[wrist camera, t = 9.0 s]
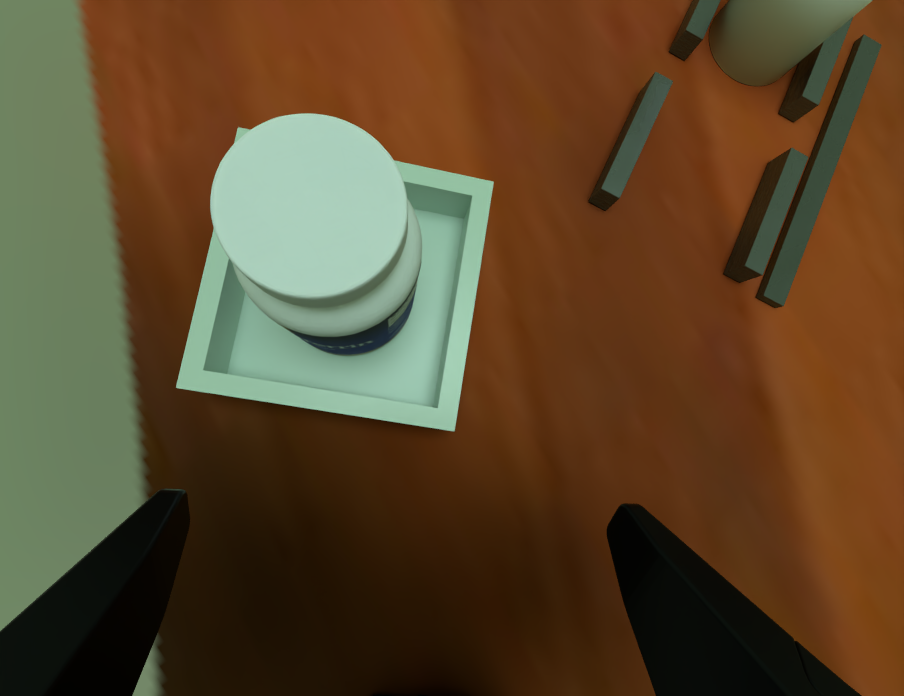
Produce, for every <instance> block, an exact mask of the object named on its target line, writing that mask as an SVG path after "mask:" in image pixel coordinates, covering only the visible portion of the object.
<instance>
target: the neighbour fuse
mask: <svg viewBox="0 0 904 696" xmlns="http://www.w3.org/2000/svg"><path fill="white" fill-rule="evenodd" d="M871 1H872V0H729V1H728V2H727V3H726V4H725V6H724V7H723V8H722V9H721V10H720V12H719V13H718V14H717V15H716V17H715V18H714V20H713V22H712V24H711V27H710V31H709V45H710V49H711V52H712V55H713V57H714V59H715V61H716V62H717V64H718V65H719V67H720V68H721V69H722V70H723V71H724V72H725V73H726V74H727V75H728V76H730V77H731V78H732V79H734V80H736V81H738V82H740V83H742V84H746V85H750V86H765V85H769V84H771V83H774V82H775V81H777V80H778V79H780V78H781V77H782V76H783V75H784V74H786V73H787V72H788V71H789V70H790V69H791V68H793V67H794V66H795V65H796V64H797V63H799V62H800V61H801V60H802V59H803V58H805V57H806V56H807V55H808V54H809V53H811V52H812V51H813V50H814V49H815V48H816V47H818V46H819V45H820V44H821V43H822V42H824V41H825V40H826V39H827V38H828V37H830V36H831V35H832V34H833V33H834V32H836V31H837V30H838V29H839V28H840V27H841V26H843V25H844V24H845V23H846V22H847V21H849V20H850V19H851V18H852V17H853V16H855V15H856V14H857V13H858V12H859V11H860V10H862V9H863V8H864V7H865V6H866V5H868V4H869V3H870V2H871Z"/></svg>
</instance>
